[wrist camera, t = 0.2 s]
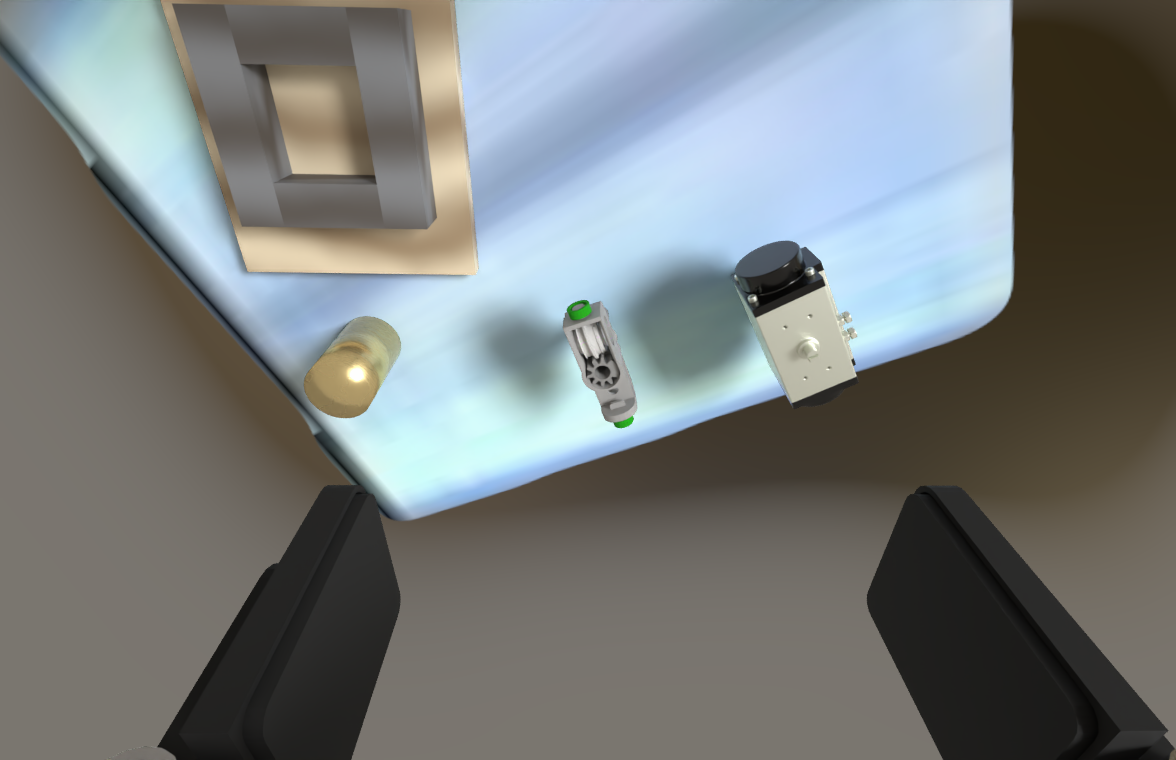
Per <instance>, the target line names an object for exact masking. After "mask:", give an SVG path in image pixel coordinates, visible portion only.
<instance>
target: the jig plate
mask: <svg viewBox="0 0 1176 760" xmlns="http://www.w3.org/2000/svg"><path fill="white" fill-rule="evenodd" d="M160 1H161V4H162V7H163V10H164V13H165V16H166V20H167V23H168V26H169V29H170V32H171V35H172V38H173V41H174V44H175V48H176V51H177V54H178V57H179V60H180V63H181V66H182V69H183V72H184V75H185V79H186V82H187V85H188V88H189V91H190V94H191V97H192V100H193V103H194V106H195V110H196V113H197V116H198V119H199V122H200V125H201V128H202V131H203V134H204V138H205V141H206V144H207V147H208V150H209V153H210V156H211V159H212V162H213V165H214V169H215V172H216V175H217V178H218V181H219V184H220V187H221V190H222V193H223V196H224V200H225V203H226V206H227V209H228V212H229V215H230V218H231V221H232V224H233V227H234V231H235V234H236V237H237V240H238V243H239V246H240V249H241V252H242V255H243V259H244V262H245V265H246V268H247V271H248V272H307V273H377V274H448V275H476V273H477V271H478V269H479V266H478V255H477V244H476V233H475V222H474V211H473V200H472V189H471V178H470V167H469V156H468V145H467V134H466V123H465V112H464V101H463V90H462V79H461V68H460V57H459V46H458V35H457V24H456V13H455V2H454V0H160Z"/></svg>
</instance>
